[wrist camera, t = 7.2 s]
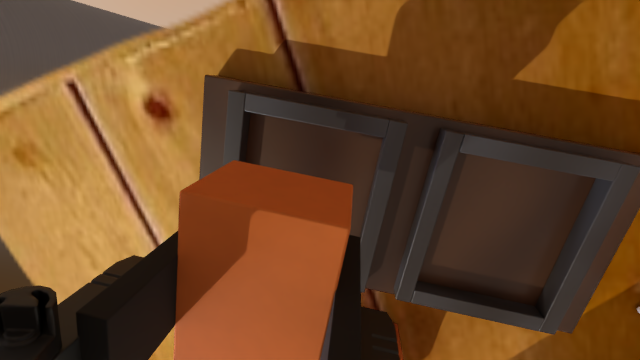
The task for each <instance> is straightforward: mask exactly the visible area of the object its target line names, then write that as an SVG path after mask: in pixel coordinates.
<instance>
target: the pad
mask: <svg viewBox="0 0 640 360" xmlns="http://www.w3.org/2000/svg"><path fill="white" fill-rule="evenodd" d="M352 199H353V185H352V184H348V183H343V182H338V181H333V180H328V179H323V178H318V177H314V176H309V175H304V174H299V173H294V172H289V171H284V170H280V169H275V168H270V167H265V166H260V165H255V164H250V163H246V162H241V161H236V160H233V161H231V162H230V163H228V164H226V165H224V166H223V167H221V168H219V169H217V170H216V171H214V172H212V173H211V174H209V175H207V176H205V177H204V178H202V179H200V180H199V181H197V182H195V183H193V184H192V185H190V186H188V187H186V188H185V189H183V190H181V192H180V201H179V228H178V263H177V291H176V319H175V336H174V360H320V357H321V353H322V349H323V344H324V340H325V335H326V331H327V327H328V322H329V318H330V313H331V309H332V305H333V300H334V296H335V291H336V290H337V287H338V282H339V278H340V273H341V269H342V265H343V260H344V256H345V252H346V247H347V243H348V239H349V234H350V230H351V215H352Z"/></svg>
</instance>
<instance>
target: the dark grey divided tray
mask: <svg viewBox="0 0 640 360" xmlns="http://www.w3.org/2000/svg"><path fill="white" fill-rule="evenodd" d="M233 160H236V161H241V162H246V163H250V164H255V165H260V166H265V167H270V168H275V169H280V170H284V171H289V172H294V173H299V174H304V175H309V176H314V177H318V178H323V179H328V180H333V181H338V182H343V183H348V184H352V185H353V199H352V215H351V230H350V234H349V235H353V236H357V237H360V260H361V292H365V288H368V289H372V290H377V291H382V292H386V293H391V294H395V299H397V300H401V301H405V302H411V303H414V304H418V305H423V306H427V307H432V308H436V309H441V310H445V311H450V312H454V313H459V314H463V315H468V316H472V317H477V318H481V319H486V320H490V321H495V322H500V323H504V324H509V325H513V326H518V327H522V328H527V329H531V330H536V331H540V332H545V333H549V334H555V333H556V331H557V330H558V331H563V332H567V333H572V332H573V330H574V328H575V326H576V325H577V323H578V321H579V319H580V317H581V315H582V313H583V312H584V310H585V308H586V306H587V304H588V302H589V301H590V299H591V297H592V295H593V293H594V291H595V290H596V288H597V286H598V284H599V282H600V280H601V278H602V277H603V275H604V273H605V271H606V269H607V267H608V266H609V264H610V262H611V260H612V258H613V256H614V255H615V253H616V251H617V249H618V247H619V245H620V243H621V242H622V240H623V238H624V236H625V234H626V232H627V231H628V229H629V227H630V225H631V223H632V221H633V219H634V218H635V216H636V214H637V212H638V210H639V208H640V154H639V153H633V152H628V151H623V150H617V149H612V148H606V147H601V146H596V145H590V144H585V143H579V142H574V141H568V140H563V139H558V138H552V137H547V136H541V135H536V134H530V133H525V132H520V131H514V130H509V129H503V128H498V127H492V126H487V125H482V124H476V123H471V122H465V121H460V120H454V119H449V118H444V117H438V116H433V115H427V114H422V113H417V112H411V111H406V110H400V109H395V108H389V107H384V106H379V105H373V104H368V103H362V102H357V101H351V100H346V99H341V98H335V97H330V96H324V95H319V94H313V93H308V92H303V91H297V90H292V89H286V88H281V87H276V86H270V85H265V84H259V83H254V82H248V81H243V80H238V79H232V78H227V77H221V76H215V75H205V82H204V102H203V121H202V141H201V160H200V179H202V178H204V177H205V176H207V175H209V174H211V173H212V172H214V171H216V170H217V169H219V168H221V167H223V166H224V165H226V164H228V163H230V162H231V161H233Z"/></svg>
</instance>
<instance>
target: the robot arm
mask: <svg viewBox="0 0 640 360" xmlns="http://www.w3.org/2000/svg"><path fill="white" fill-rule="evenodd" d="M177 263H178V231H177V232H176V233H175V234H173V235H172V236H171V237H170V238H168V239H167V240H166V241H165V242H163V243H162V244H161V245H159V246H158V247H157V248H156V249H154V250H153V251H152V252H151V253H149V254H148V255H147V256H146V257H144V258H143V257H139V256H134V255H133V256H131V257H129V258H126V259H124V260H121V261H119V262H116V263H115V264H114V265H112V266H111V267H110V268H108V269H107V270H105V271H104V272H103V274H100V275H99V276H97V277H96V278H94V279H93V280H92V281H91V283H87V284H86V285H85V286H83V287H82V288H81V289H79V290H78V291H76V292H75V293H74V294H72V295H71V296H70V297H68V298H67V299H65V300H64V301H63V302H61V303H60V304H59V305H57V297H56V292H55V291H53V290H52V289H51V288H48V287H43V286H26V287H21V288H17V289H12V290H9V291H6V292H3V293H1V294H0V360H148V359H149V358H150V357H151V355H152V354H153V353H154V351H155V350H156V349H157V348H158V346H159V345H160V344H161V342H162V341H163V340H164V339H165V337H166V336H167V335H168V333H169V332H170V331H171V329H172V328H173V327H174V326H175V319H176V291H177ZM320 360H400V357H399V350H398V343H397V336H396V330H395V325H394V324H393V322H392V320H391V319H390V317H389V315H388V314H387V312H382V311H378V310H374V309H369V308H365V307H361V260H360V237H357V236H353V235H349V239H348V243H347V247H346V252H345V256H344V260H343V265H342V269H341V273H340V278H339V282H338V287H337V290H336V291H335V296H334V300H333V305H332V309H331V313H330V318H329V322H328V327H327V331H326V335H325V340H324V344H323V349H322V353H321V357H320Z"/></svg>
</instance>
